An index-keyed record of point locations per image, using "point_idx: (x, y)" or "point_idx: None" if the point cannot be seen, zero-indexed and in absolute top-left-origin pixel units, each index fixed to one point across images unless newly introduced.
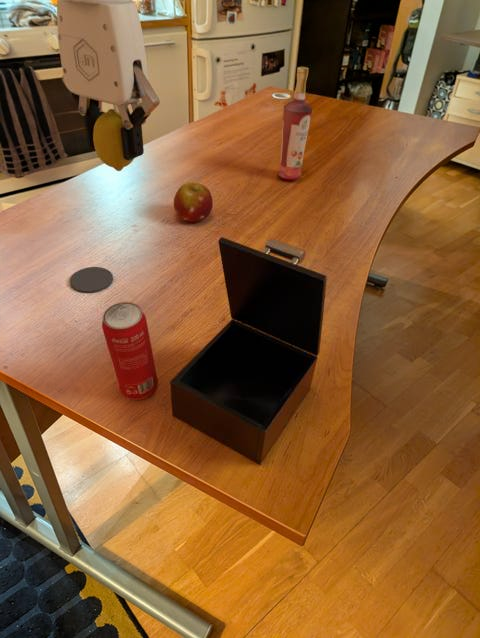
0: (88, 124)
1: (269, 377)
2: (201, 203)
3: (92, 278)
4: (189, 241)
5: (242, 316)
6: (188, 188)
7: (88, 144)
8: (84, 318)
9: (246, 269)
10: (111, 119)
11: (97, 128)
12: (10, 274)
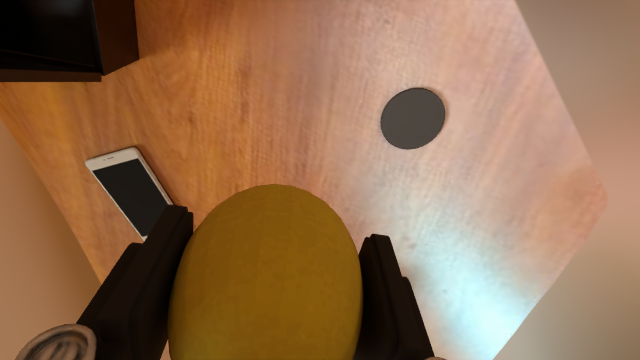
0: (390, 316)
1: (48, 25)
2: None
3: (411, 121)
4: None
5: (61, 67)
6: None
7: (387, 240)
8: (378, 34)
9: None
10: None
11: (300, 293)
12: (543, 80)
